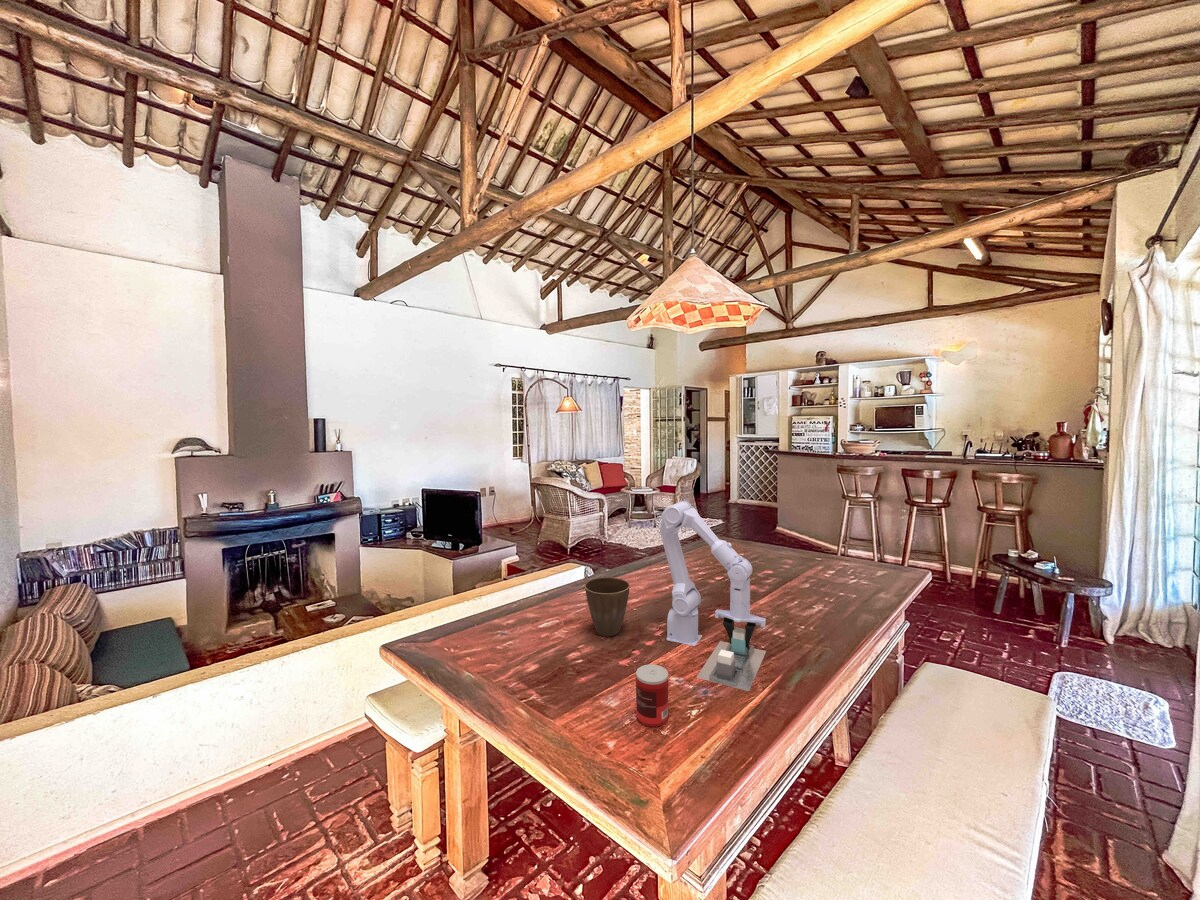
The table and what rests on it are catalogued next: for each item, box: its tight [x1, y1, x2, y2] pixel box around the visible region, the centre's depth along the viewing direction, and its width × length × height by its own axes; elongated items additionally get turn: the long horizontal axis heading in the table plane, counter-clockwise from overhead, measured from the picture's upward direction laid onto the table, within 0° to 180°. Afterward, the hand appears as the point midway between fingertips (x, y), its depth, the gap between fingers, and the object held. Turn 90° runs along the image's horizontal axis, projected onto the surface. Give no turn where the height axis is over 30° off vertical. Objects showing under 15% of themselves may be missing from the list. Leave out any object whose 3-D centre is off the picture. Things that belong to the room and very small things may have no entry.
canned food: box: [635, 664, 669, 728], centre depth 113 cm, size 8×8×11 cm
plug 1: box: [717, 650, 735, 680], centre depth 130 cm, size 4×4×6 cm
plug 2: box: [731, 626, 748, 654], centre depth 144 cm, size 4×4×6 cm
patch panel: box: [696, 640, 767, 692], centre depth 137 cm, size 14×24×2 cm, turn 151°
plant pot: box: [584, 577, 631, 637], centre depth 159 cm, size 15×15×16 cm
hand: (739, 644), depth 144 cm, fingers closed on plug 2, 4 cm apart
